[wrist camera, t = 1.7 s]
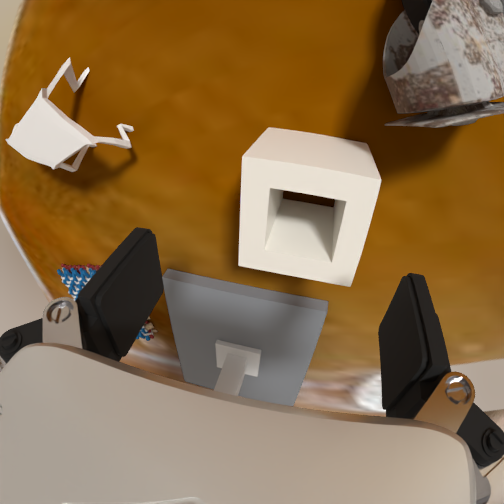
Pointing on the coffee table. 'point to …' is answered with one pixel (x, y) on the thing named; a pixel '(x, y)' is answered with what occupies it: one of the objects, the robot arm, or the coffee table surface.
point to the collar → (306, 205)
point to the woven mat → (81, 278)
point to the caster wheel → (446, 61)
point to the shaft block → (242, 336)
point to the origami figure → (57, 129)
